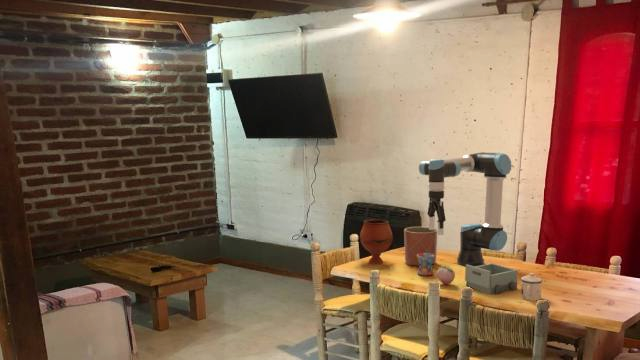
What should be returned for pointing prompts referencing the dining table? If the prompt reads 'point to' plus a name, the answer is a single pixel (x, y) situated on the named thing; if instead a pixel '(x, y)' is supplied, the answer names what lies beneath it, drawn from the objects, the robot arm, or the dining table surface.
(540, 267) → the dining table surface
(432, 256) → the mug
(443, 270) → the decorative fruit
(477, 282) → the tailgate
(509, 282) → the truck bed
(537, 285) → the teacup with lid
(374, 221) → the goblet
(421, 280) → the dining table surface
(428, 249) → the planter
